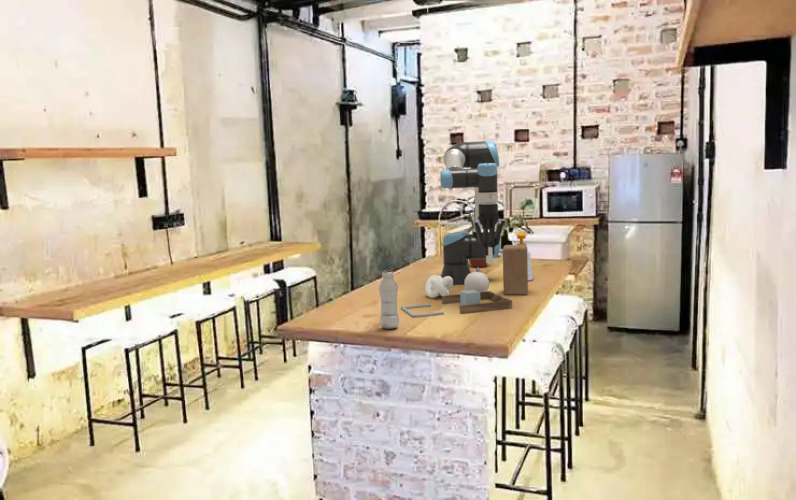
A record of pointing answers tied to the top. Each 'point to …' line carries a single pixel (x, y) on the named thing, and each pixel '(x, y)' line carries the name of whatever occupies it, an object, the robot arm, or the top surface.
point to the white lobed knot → (438, 286)
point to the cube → (469, 297)
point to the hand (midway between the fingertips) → (489, 263)
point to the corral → (420, 314)
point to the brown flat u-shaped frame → (497, 305)
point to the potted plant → (475, 261)
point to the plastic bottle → (388, 301)
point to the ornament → (476, 281)
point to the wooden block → (515, 270)
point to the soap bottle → (521, 237)
